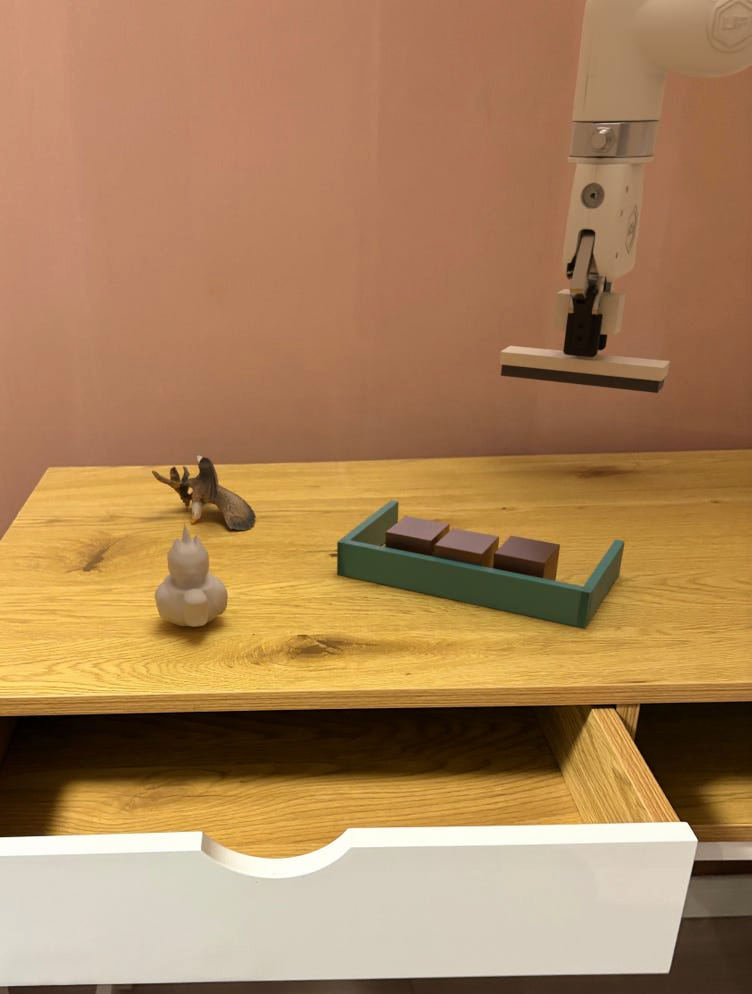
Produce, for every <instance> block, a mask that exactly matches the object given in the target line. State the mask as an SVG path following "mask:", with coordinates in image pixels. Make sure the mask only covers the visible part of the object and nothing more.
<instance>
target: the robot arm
mask: <svg viewBox="0 0 752 994" xmlns="http://www.w3.org/2000/svg"><path fill="white" fill-rule="evenodd" d="M583 11H584V12H583V20H582V29H581V37H580V38H581V39H580V46H579V54H578V63H577V71H576V72H577V74H576V81H575V90H574V91H575V92H574V99H573V106H572V107H573V108H572V109H573V110H572V115H571V121H572V122H571V124H570V134H569V142H568V150H567V159H566V163H569V164H576V167H575V172H574V176H573V177H574V178H573V183H572V186H571V194H570V201H569V207H568V213H567V218H566V219H567V220H566V226H565V227H566V228H565V232H564V241H563V242H564V243H563V251H562V263H561V270H562V271H561V273H562V275H563V276H564V278H566V279H567V280H571V281H570V285H569V289H570V293H571V294H570V301H569V309H568V317H567V325H566V331H565V333H564V341H563V350H562V351H563V352H564V354H565V355H572V356H583V357H594V356H596V355H597V354H599V353H598V352H599V351H603V350H605V348H606V347H607V341H608V335H606V334H600V331H601V324H602V317H603V314H599V312H600V307H601V301H602V294H603V292H614V291H615V290H614V289H615V281H617V280H619V279H621V278H622V277H623V276H625V275H626V274H628V273H630V271H632V270H633V269H634V267H635V265H636V259H637V251H638V242H639V233H640V225H641V216H642V207H643V197H644V185H645V183H644V182H645V164H646V163H647V164H650V163H653V162H654V161H655V155H656V147H657V140H658V135H659V128H660V120H661V115H662V110H663V102H664V95H665V89H666V82H667V76H668V73H670V72H671V73H680V74H682V75H684V76H687V77H689V78H694V79H715V78H724V77H729V76H733V75H735V74H738V73H740V72H742V71H745V70H746V69H747V68H750V67H751V66H752V0H586V2H585V5H584V10H583ZM594 291H595V292H594Z"/></svg>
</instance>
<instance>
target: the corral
mask: <svg viewBox="0 0 752 994" xmlns="http://www.w3.org/2000/svg"><path fill="white" fill-rule="evenodd" d="M399 503H400V502H399V501H398V500H397V501H396V500H389V501H388V502H387V503H386V504H384V505H382V507H380V508H379V509H377V510H376V511H375V512H374V513H373V514H371V515H369V516H368V518H366V519H365V520H363V521H362V522H361V523H359V524H358V525H357V526H355V527H354V528H353V529H352V530H350V531H349V532H348V533H347V534H345V535H344V536H343V537H341V538H340V539H339V540H338V541H337V547H336V557H337V558H336V575H337V576H344V577H348V578H353V579H356V580H360V581H361V580H362V581H366V582H371V583H375V584H379V585H385V586H388V587H394V588H398V589H402V590H408V591H411V592H417V593H421V594H426V595H430V596H436V597H439V598H444V599H449V600H454V601H457V602H463V603H468V604H472V605H477V606H480V607H481V606H482V607H486V608H490V609H491V608H492V609H494V610H499V611H504V612H509V613H513V614H518V615H522V616H526V617H532V618H537V619H540V620H546V621H550V622H554V623H560V624H563V625H569V626H573V627H577V628H583V629H587V626H588V625H589V623H590V622H591V620H592V619H593V617H594V615H595V613H596V612H597V610H598V609H599V607H601V604H602V602H603V601H604V600H605V598H606V596H607V594H608V593H609V591H610V590H611V588H612V587H613V585H614V583H615V581H616V580H617V579H618V576H620V573H621V567H622V561H623V555H624V548H625V543H626V542H625V540H621V539H614V540H613V542H612V543H611V544H610V546H609V548H608V549H607V551H606V552H605V554H604V555H603V557H602V558H601V559H600V561H599V563H597V565H596V567H595V568H594V570H593V571H592V573H591V574H590V576H589V577H588V578H587V580H586V582H585V583H584V584H583V585H579V584H573V583H567V582H562V581H558V580H556V581H553V580H548V579H543V578H538V577H533V576H528V575H523V574H518V573H513V572H508V571H503V570H498V569H493V568H488V567H483V566H478V565H472V564H467V563H462V562H457V561H452V560H447V559H442V558H437V557H432V556H427V555H422V554H417V553H412V552H407V551H402V550H397V549H392V548H387V547H385V546H383V545H385V540H386V531H388V530H389V529H390V528H391V527H393V526H394V525H395V524H396V523H398V522H399V505H400V504H399Z"/></svg>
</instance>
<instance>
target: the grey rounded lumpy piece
mask: <svg viewBox="0 0 752 994" xmlns="http://www.w3.org/2000/svg"><path fill="white" fill-rule="evenodd" d="M181 535H182V536H181V539H179V538H178V537H175V539H174V541H173V543H172V546H171V548H170V549H169V550H168V553H167V569H168V572H169V574H167V575H166V576H165V577H164V581H162V582H161V583H159V585H158V586H157V588H156V590H155V592H154V601H155V606H156V609H157V613H158V615H159V616H160V618H161V619H162V620H163V621H165V622H170V623H172V624H173V625H176V626H180V627H192V628H196V627H202V626H205V625H206V624H207V623H210V622H211V621H213V620H214V619H215V618H216V617H217V616H221V615H223V614H224V613H225V612H226V610H227V607H228V595H229V593H228V590H227V588H226V585H225V584H224V582H223V580H221V579H220V578H218V577H217V576H213V575H212V573H211V572H210V571H209V570H210V557H209V551H208V550H207V549H206V547H205V546H204V544H203V543H202V541H201V539H200V537H199V536H198V535H197V534H196V535H195V536H194V537H193V538H191V536H190V533H189V529H188V527H187V525H186V524H185V523H184V524H183V529H182V534H181Z"/></svg>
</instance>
